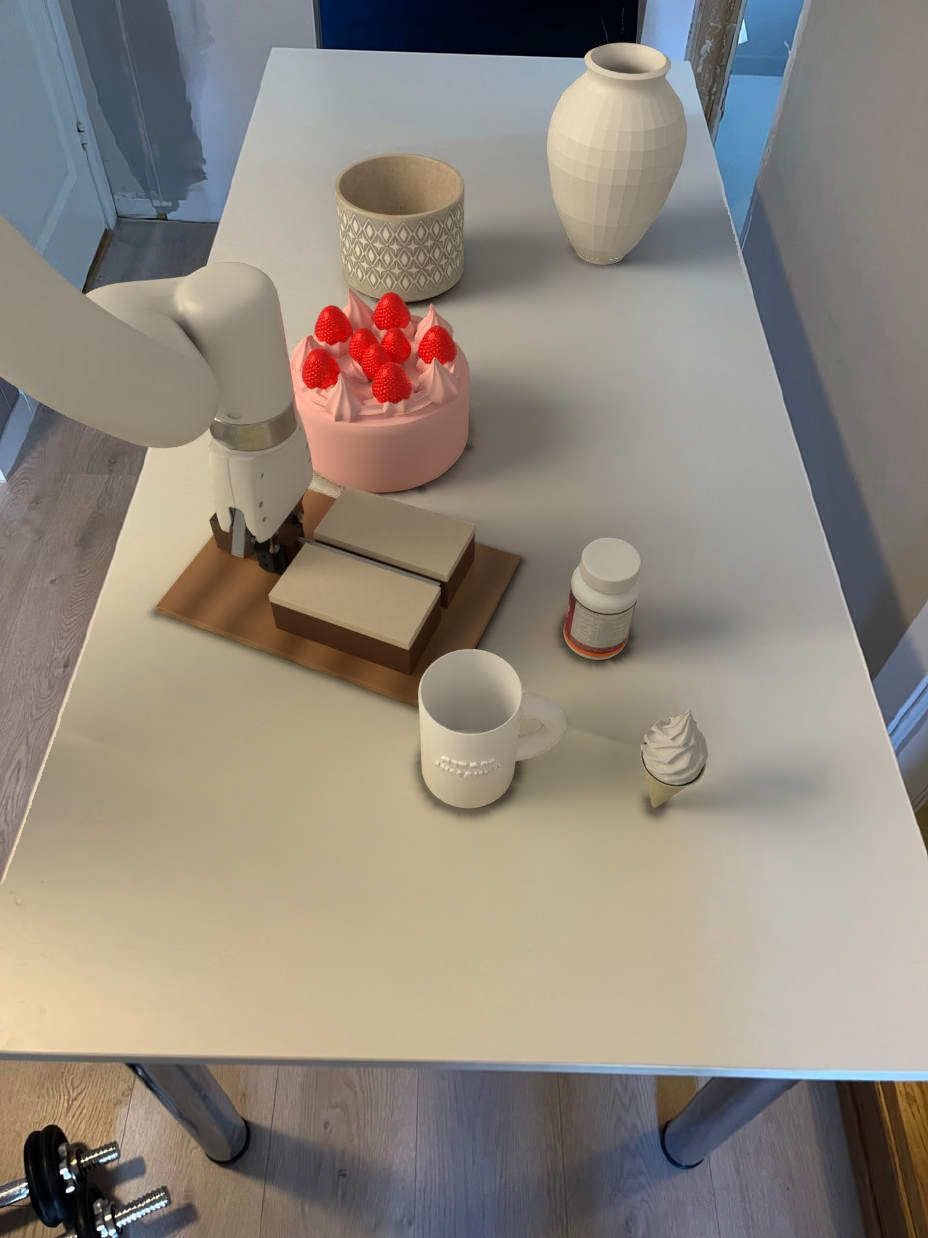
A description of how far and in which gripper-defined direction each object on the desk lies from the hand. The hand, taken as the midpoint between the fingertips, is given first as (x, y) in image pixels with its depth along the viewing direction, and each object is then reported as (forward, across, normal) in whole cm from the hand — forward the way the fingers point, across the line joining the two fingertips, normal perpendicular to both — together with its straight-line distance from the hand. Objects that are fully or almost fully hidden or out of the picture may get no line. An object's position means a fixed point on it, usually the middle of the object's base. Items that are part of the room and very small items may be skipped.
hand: (283, 557), depth 91 cm
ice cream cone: (+2, +11, +42) cm, 43 cm away
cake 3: (0, +4, +10) cm, 11 cm away
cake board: (+1, 0, +6) cm, 7 cm away
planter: (+2, -53, -12) cm, 54 cm away
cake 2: (0, -4, +10) cm, 11 cm away
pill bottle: (+2, -4, +32) cm, 32 cm away
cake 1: (+2, -22, 0) cm, 22 cm away
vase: (+2, -70, +12) cm, 71 cm away
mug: (+2, +13, +28) cm, 30 cm away
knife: (0, 0, +5) cm, 5 cm away
